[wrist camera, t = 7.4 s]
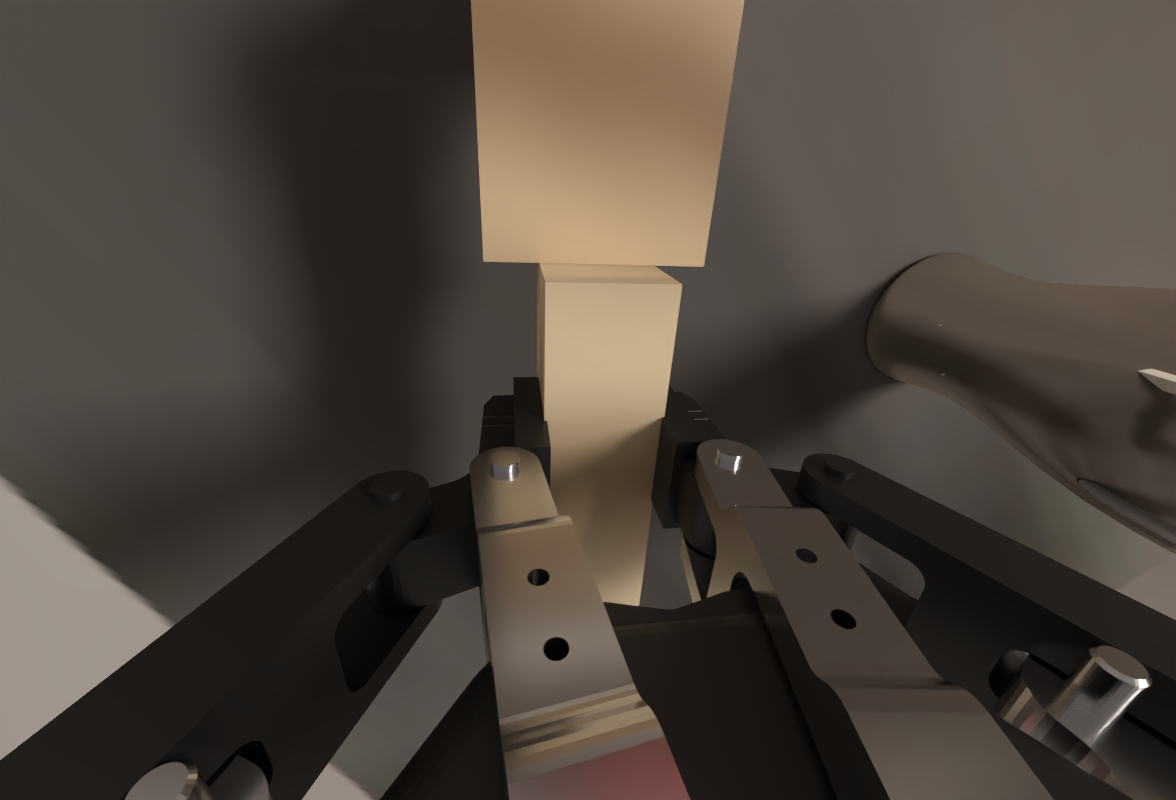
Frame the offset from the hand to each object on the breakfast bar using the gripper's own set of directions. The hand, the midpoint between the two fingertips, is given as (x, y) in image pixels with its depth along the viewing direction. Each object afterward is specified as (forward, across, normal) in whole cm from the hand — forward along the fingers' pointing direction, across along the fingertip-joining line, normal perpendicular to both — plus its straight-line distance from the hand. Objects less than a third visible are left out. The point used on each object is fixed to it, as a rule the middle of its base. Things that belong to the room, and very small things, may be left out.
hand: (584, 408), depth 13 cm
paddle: (0, 0, -2) cm, 2 cm away
